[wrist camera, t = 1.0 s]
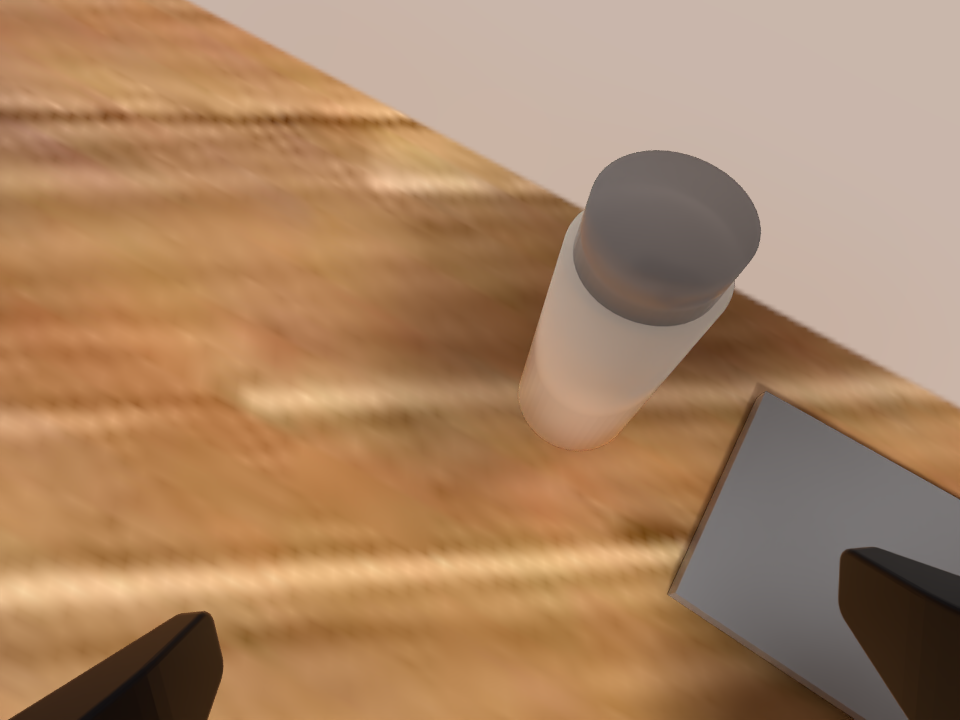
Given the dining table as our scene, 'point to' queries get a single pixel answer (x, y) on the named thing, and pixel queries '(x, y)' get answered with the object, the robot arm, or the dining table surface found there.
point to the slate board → (808, 548)
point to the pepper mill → (633, 292)
